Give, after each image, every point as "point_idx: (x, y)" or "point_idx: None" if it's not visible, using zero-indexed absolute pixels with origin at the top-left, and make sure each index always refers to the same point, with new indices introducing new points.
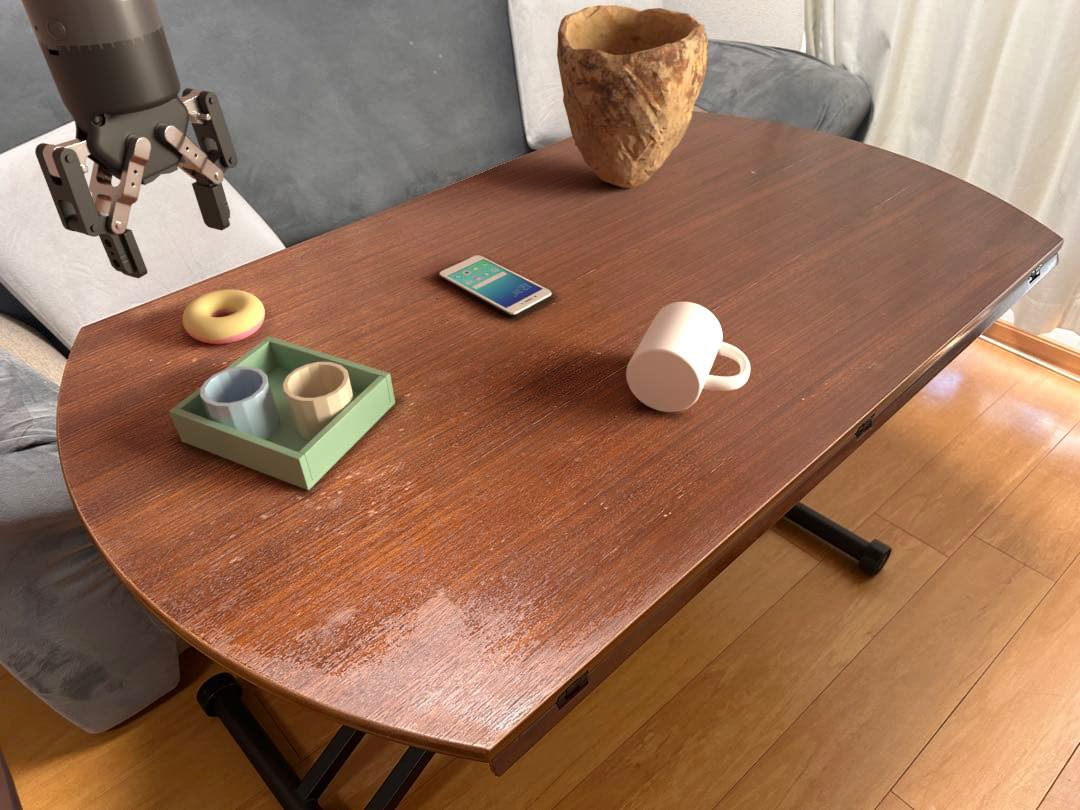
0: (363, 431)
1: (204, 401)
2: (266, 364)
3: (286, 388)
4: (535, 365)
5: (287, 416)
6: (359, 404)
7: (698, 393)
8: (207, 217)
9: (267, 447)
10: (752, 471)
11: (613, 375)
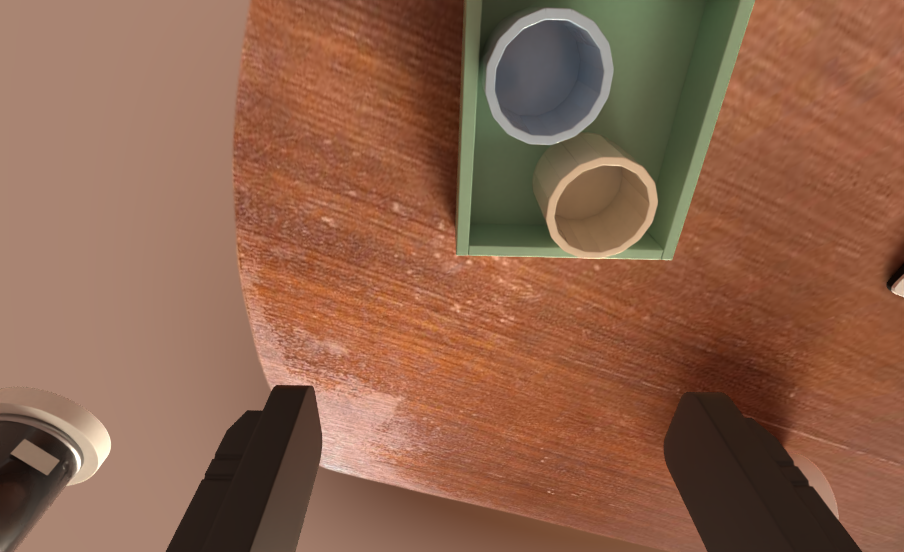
0: None
1: (489, 58)
2: None
3: (568, 179)
4: (760, 347)
5: None
6: None
7: None
8: (700, 434)
9: (458, 202)
10: (618, 522)
11: (745, 417)
